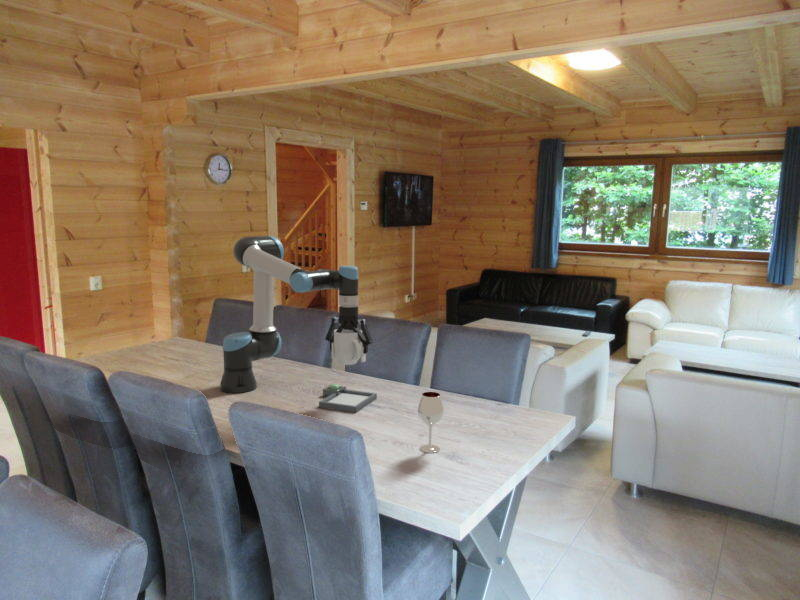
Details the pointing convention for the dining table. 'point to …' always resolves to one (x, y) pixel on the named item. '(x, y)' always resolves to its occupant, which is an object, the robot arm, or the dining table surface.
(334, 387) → the button
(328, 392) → the grey square frame
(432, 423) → the wineglass
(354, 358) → the mug
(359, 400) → the tray
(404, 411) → the dining table surface
